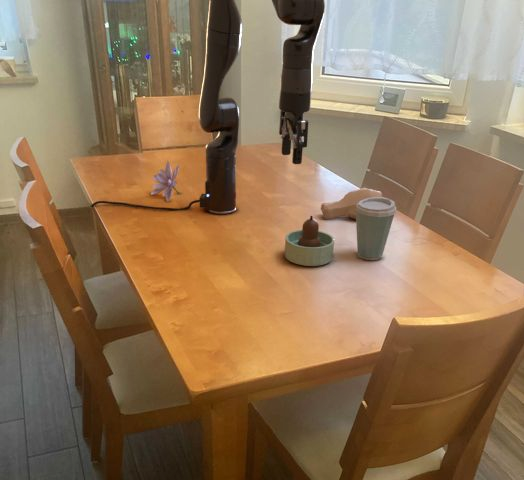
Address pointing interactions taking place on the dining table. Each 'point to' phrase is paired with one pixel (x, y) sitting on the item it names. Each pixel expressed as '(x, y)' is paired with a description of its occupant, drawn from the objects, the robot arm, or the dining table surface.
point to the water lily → (165, 181)
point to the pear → (310, 234)
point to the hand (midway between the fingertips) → (291, 159)
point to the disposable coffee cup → (373, 226)
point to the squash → (348, 203)
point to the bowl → (309, 249)
